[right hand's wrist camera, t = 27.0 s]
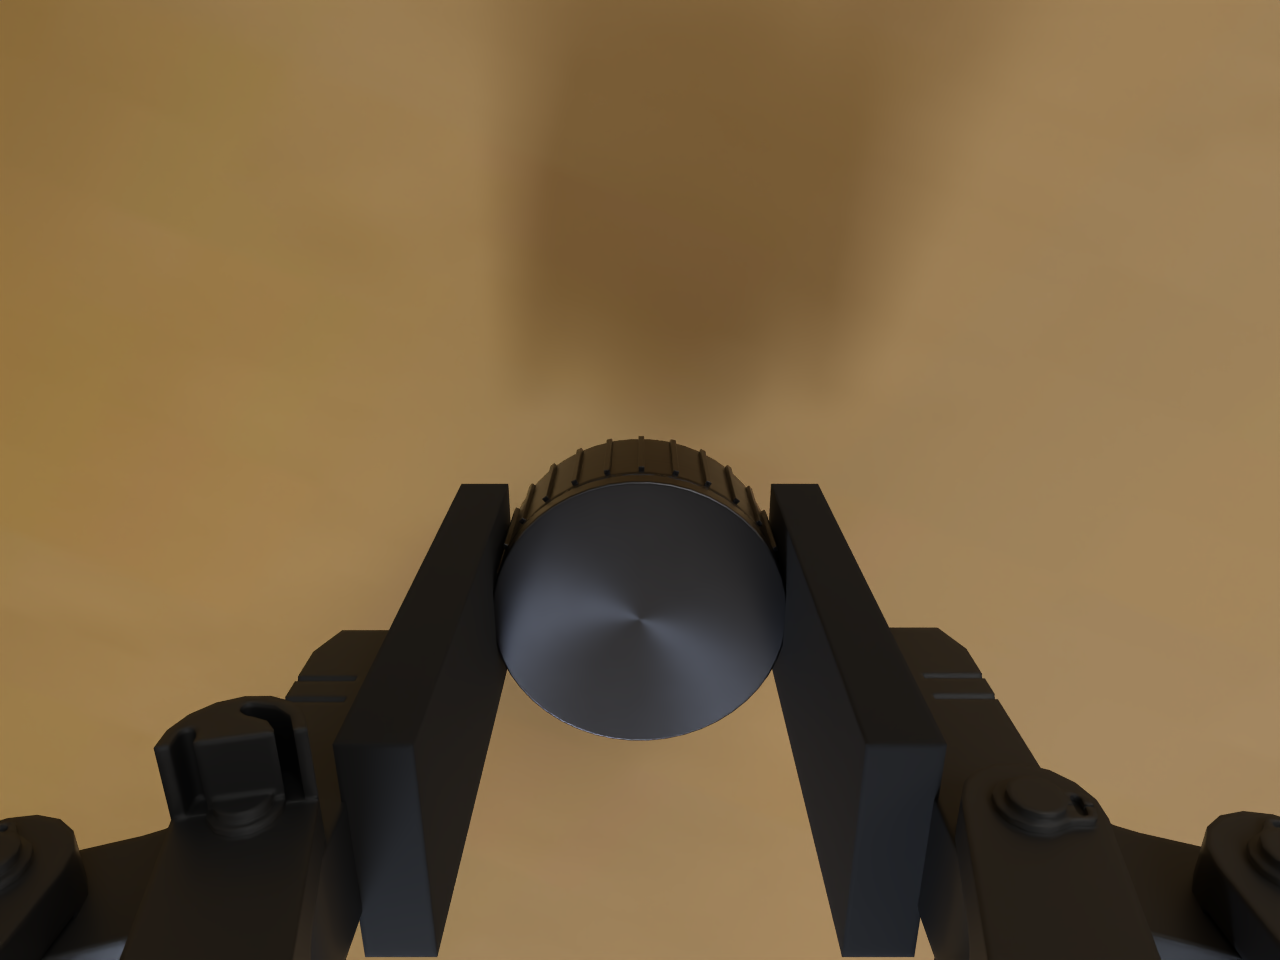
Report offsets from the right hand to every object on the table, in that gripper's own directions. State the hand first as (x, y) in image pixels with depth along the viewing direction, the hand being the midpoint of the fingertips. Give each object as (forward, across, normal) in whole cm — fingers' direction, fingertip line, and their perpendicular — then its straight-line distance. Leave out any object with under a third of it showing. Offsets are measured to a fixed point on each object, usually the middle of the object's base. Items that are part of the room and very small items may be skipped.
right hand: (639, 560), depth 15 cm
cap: (-2, 0, 0) cm, 2 cm away
